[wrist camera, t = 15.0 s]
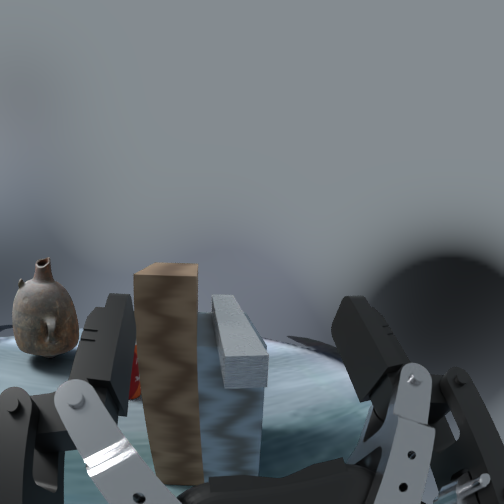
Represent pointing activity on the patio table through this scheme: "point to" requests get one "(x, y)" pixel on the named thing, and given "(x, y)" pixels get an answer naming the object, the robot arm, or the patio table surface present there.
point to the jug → (44, 315)
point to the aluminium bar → (238, 346)
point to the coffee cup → (135, 378)
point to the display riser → (190, 384)
